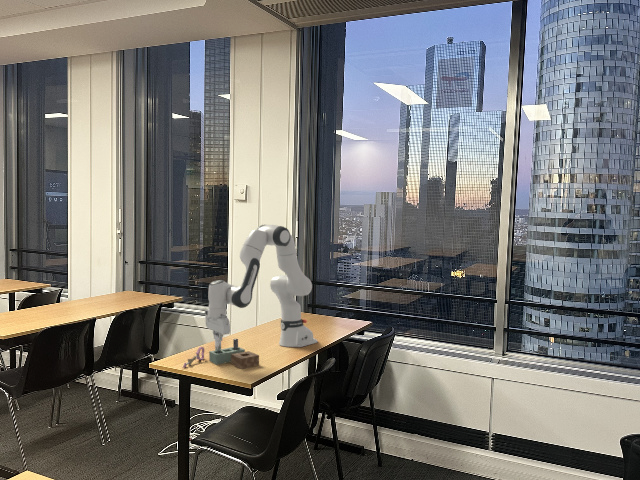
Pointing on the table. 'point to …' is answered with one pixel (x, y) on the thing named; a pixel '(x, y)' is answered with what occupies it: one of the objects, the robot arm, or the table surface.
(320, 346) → the table surface
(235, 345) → the dark grey peg
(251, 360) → the socket block
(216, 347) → the metal cylinder rod
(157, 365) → the table surface
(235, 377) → the table surface
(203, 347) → the decorative key
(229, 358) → the drill rack
